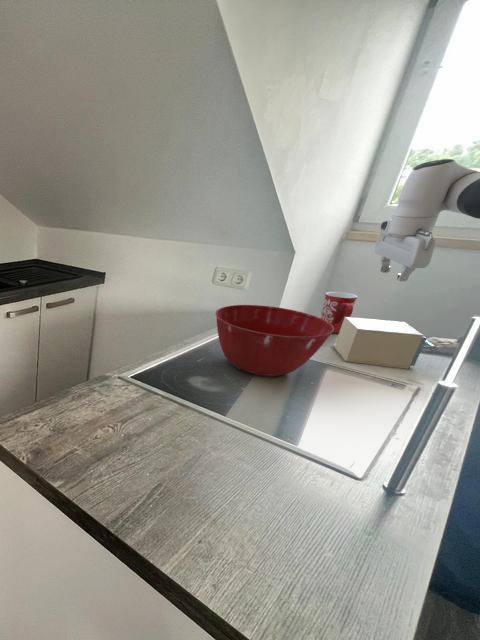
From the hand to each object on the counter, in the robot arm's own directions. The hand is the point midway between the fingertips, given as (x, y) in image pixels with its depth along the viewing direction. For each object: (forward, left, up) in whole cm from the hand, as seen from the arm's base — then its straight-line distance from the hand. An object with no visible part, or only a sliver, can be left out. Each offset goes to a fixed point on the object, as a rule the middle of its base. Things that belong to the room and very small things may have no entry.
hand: (392, 276), depth 112 cm
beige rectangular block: (-2, 0, -25) cm, 25 cm away
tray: (-6, 0, -24) cm, 25 cm away
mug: (+2, -24, -25) cm, 35 cm away
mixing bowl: (+30, +21, -25) cm, 45 cm away
